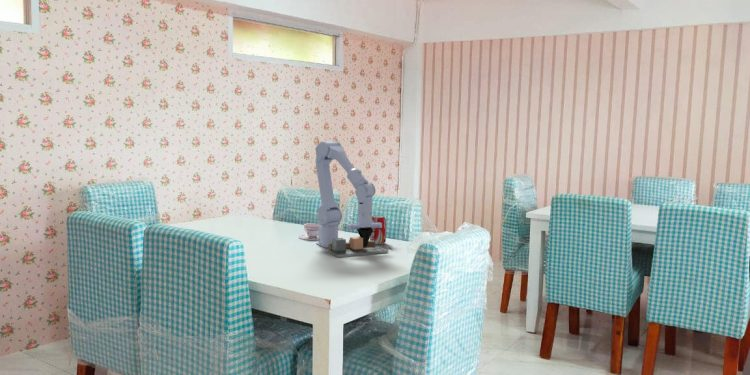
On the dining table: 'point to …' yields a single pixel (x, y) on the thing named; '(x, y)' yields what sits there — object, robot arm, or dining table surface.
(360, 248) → the block
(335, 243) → the fixed leg
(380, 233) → the soda can
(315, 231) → the teacup
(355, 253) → the plate
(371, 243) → the rail
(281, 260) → the dining table surface
